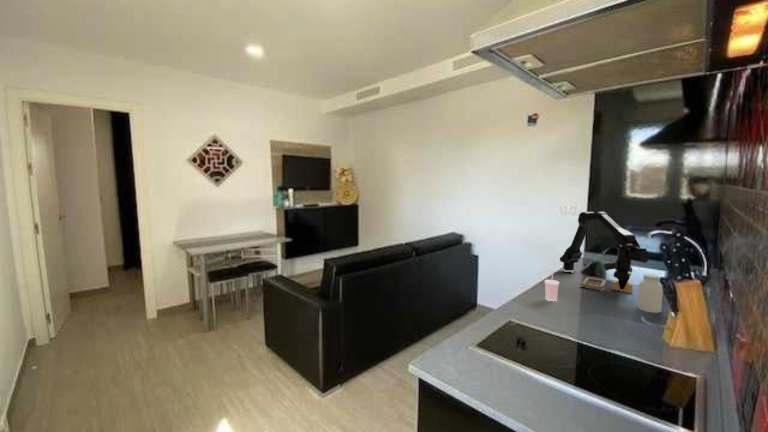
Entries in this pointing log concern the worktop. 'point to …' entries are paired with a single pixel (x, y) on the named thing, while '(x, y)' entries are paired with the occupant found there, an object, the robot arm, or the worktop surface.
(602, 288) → the board
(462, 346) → the worktop surface
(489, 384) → the worktop surface
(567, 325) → the worktop surface
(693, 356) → the worktop surface
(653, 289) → the pill bottle
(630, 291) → the ochre bar
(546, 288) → the beverage cup
